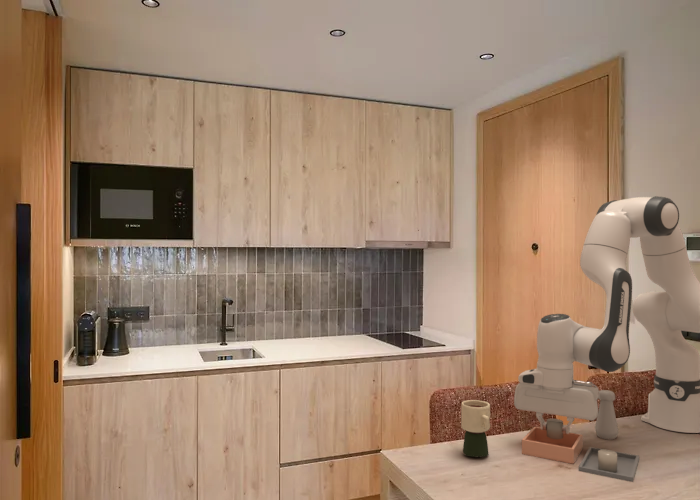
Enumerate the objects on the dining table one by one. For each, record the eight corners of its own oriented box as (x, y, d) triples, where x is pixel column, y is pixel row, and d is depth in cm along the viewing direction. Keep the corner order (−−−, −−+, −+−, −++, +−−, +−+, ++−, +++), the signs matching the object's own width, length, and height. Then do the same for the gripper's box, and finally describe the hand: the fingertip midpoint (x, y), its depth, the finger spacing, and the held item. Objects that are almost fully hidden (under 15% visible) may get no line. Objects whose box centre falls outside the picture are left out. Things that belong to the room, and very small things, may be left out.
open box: (534, 441, 147) (534, 426, 147) (582, 450, 140) (582, 434, 140) (521, 455, 137) (521, 439, 137) (573, 466, 130) (573, 449, 130)
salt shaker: (613, 435, 152) (613, 388, 152) (621, 442, 146) (621, 394, 146) (591, 434, 152) (591, 388, 152) (599, 441, 147) (599, 393, 147)
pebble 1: (548, 432, 143) (548, 417, 143) (564, 435, 141) (564, 420, 141) (545, 437, 140) (545, 421, 140) (561, 440, 138) (561, 424, 138)
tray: (589, 452, 139) (589, 446, 139) (639, 461, 133) (639, 455, 133) (578, 472, 126) (578, 466, 126) (632, 483, 120) (632, 477, 120)
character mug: (500, 461, 133) (500, 408, 133) (475, 465, 131) (475, 411, 131) (475, 446, 143) (475, 396, 143) (452, 449, 141) (452, 399, 141)
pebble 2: (599, 465, 130) (599, 448, 130) (618, 468, 127) (618, 451, 127) (596, 470, 126) (596, 453, 126) (616, 474, 124) (616, 457, 124)
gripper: (600, 380, 138) (600, 435, 138) (518, 370, 149) (518, 421, 149) (596, 385, 132) (596, 442, 132) (512, 375, 143) (512, 427, 143)
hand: (554, 431), depth 141 cm, fingers closed on pebble 1, 4 cm apart
